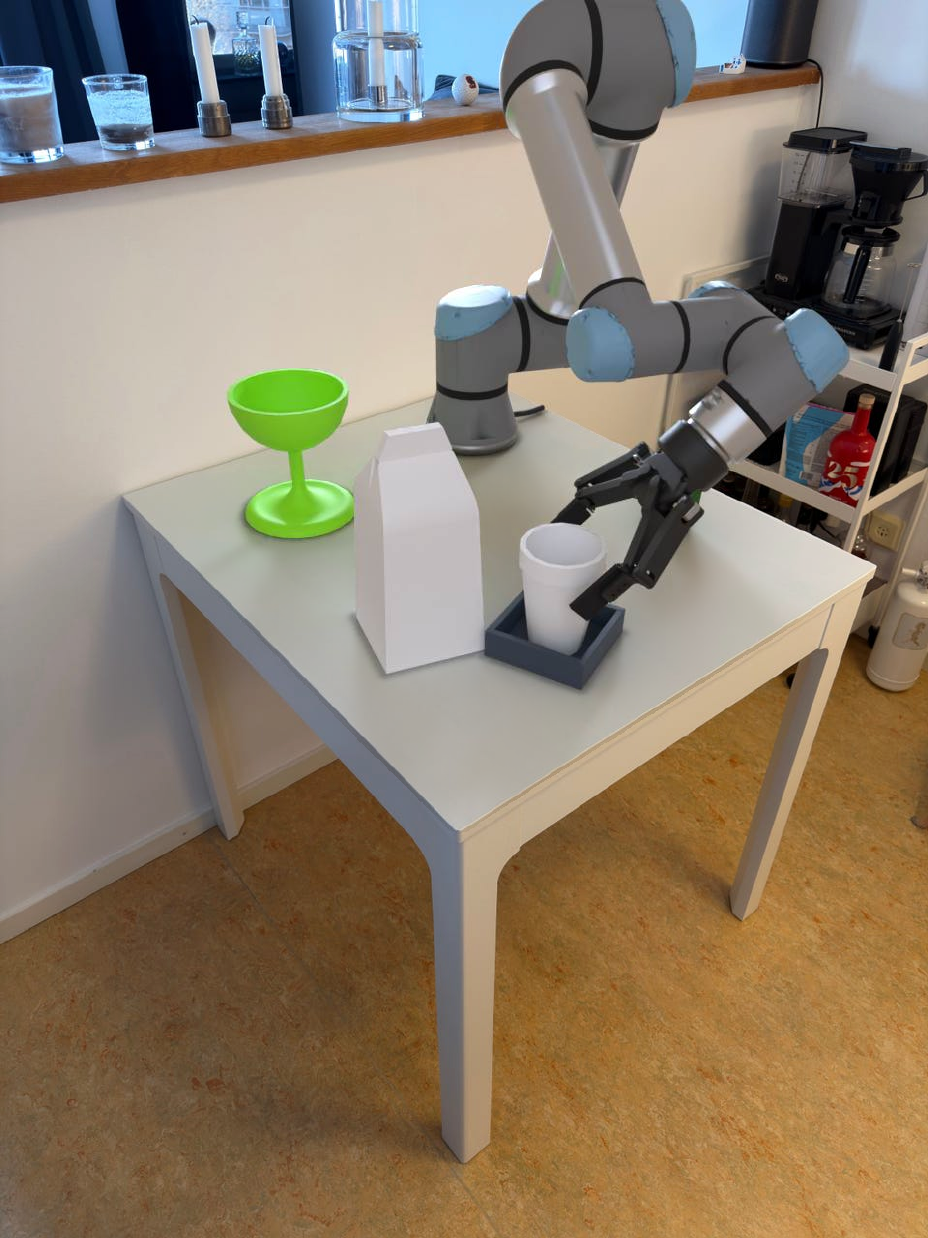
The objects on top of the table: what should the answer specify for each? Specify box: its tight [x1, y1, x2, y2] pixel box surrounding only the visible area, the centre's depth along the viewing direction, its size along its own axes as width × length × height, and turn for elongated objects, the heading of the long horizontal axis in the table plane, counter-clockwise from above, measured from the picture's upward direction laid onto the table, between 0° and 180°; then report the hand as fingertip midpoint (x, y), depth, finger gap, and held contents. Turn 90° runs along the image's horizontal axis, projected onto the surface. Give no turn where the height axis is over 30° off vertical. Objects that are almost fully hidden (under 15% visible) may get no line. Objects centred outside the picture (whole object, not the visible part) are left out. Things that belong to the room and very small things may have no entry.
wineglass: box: [226, 367, 354, 539], centre depth 124 cm, size 16×16×18 cm
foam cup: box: [519, 523, 608, 655], centre depth 101 cm, size 10×9×13 cm
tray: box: [484, 589, 626, 691], centre depth 104 cm, size 12×12×4 cm
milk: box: [353, 422, 485, 675], centre depth 98 cm, size 12×12×26 cm
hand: (558, 577), depth 99 cm, fingers open, 13 cm apart
